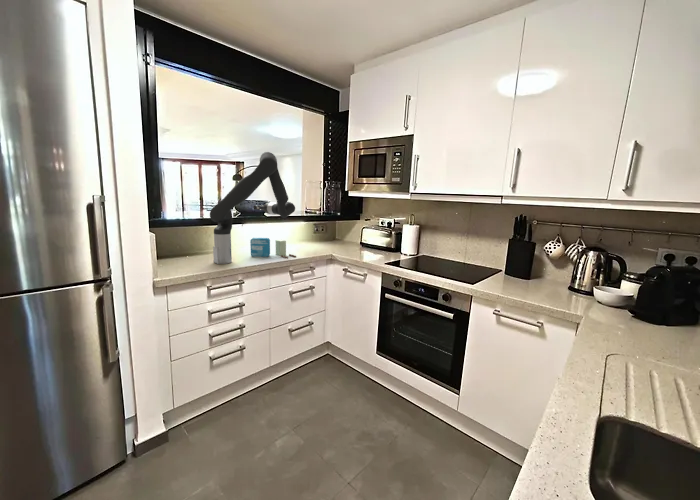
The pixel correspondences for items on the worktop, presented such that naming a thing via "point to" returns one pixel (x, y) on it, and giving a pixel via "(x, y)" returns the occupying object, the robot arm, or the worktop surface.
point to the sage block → (280, 247)
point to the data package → (260, 247)
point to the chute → (287, 257)
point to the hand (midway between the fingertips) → (259, 207)
